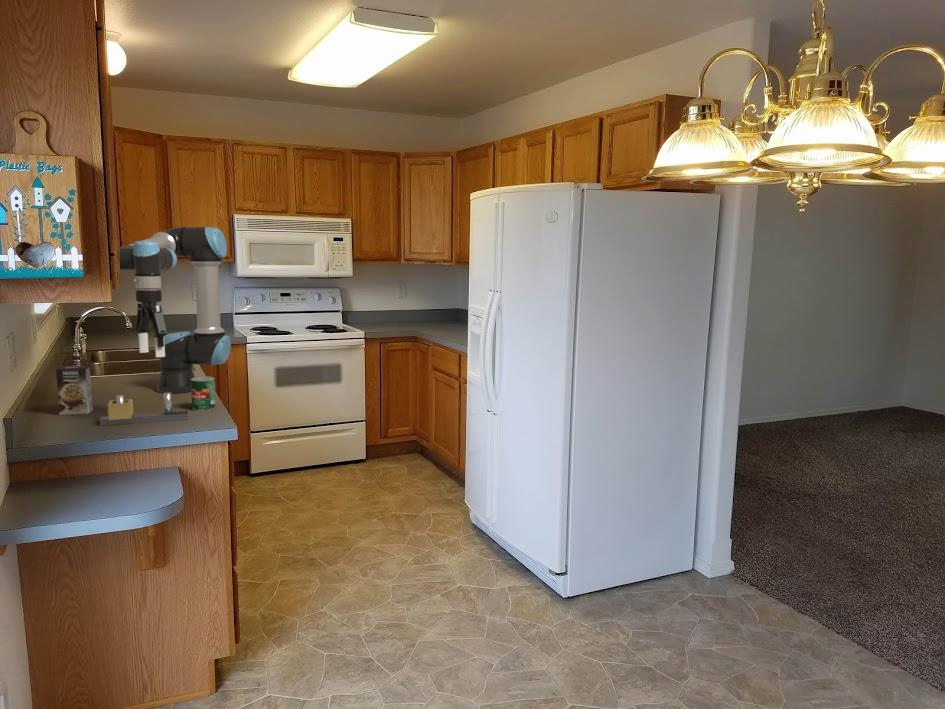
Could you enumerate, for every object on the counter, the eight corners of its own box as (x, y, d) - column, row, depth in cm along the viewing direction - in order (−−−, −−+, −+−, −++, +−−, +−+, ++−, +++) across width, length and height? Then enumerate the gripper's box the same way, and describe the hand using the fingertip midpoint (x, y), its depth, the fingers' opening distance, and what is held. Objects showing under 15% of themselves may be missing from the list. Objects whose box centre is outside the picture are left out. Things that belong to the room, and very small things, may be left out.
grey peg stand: (101, 422, 220) (99, 395, 218) (188, 416, 229) (187, 390, 228) (100, 425, 216) (98, 398, 215) (188, 419, 226) (186, 393, 224)
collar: (111, 415, 222) (110, 400, 221) (133, 413, 224) (132, 399, 223) (108, 419, 216) (107, 404, 215) (131, 418, 218) (130, 403, 217)
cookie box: (58, 415, 228) (54, 368, 226) (64, 411, 235) (60, 365, 232) (88, 414, 231) (85, 367, 228) (93, 409, 237) (90, 364, 235)
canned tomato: (192, 412, 236) (190, 381, 234) (192, 407, 243) (190, 377, 242) (216, 410, 239) (215, 379, 237) (215, 405, 246) (214, 375, 245)
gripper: (122, 288, 224) (125, 351, 227) (151, 291, 206) (155, 360, 209) (145, 287, 229) (149, 349, 232) (176, 290, 212) (179, 357, 215)
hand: (151, 354), depth 221 cm, fingers open, 13 cm apart
